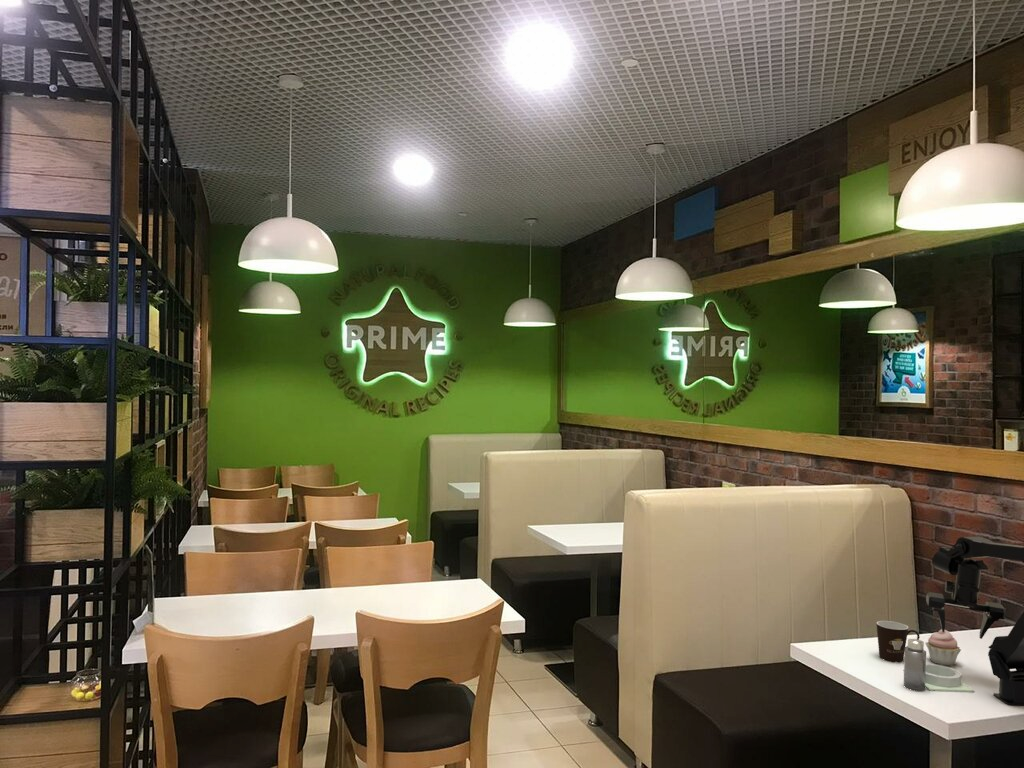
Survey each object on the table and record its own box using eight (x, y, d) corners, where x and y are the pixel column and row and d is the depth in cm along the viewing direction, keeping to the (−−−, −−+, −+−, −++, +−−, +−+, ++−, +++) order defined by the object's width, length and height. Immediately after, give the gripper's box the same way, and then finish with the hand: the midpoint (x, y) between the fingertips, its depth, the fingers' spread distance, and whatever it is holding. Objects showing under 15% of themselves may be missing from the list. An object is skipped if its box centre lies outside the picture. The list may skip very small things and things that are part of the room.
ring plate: (974, 692, 207) (974, 681, 207) (929, 690, 207) (929, 679, 207) (945, 672, 221) (945, 662, 221) (903, 671, 221) (903, 660, 221)
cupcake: (917, 658, 232) (918, 625, 232) (939, 655, 236) (939, 622, 236) (946, 669, 224) (947, 635, 224) (967, 665, 227) (968, 631, 227)
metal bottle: (929, 691, 206) (930, 644, 206) (909, 690, 206) (911, 643, 206) (919, 684, 212) (920, 638, 212) (899, 683, 212) (901, 637, 212)
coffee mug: (874, 660, 230) (875, 626, 230) (876, 651, 237) (877, 619, 237) (918, 667, 224) (919, 633, 224) (918, 659, 232) (919, 625, 232)
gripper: (1000, 578, 220) (994, 631, 222) (926, 567, 227) (921, 618, 229) (1008, 590, 210) (1002, 645, 211) (931, 578, 217) (925, 632, 218)
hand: (961, 634), depth 218 cm, fingers open, 9 cm apart
